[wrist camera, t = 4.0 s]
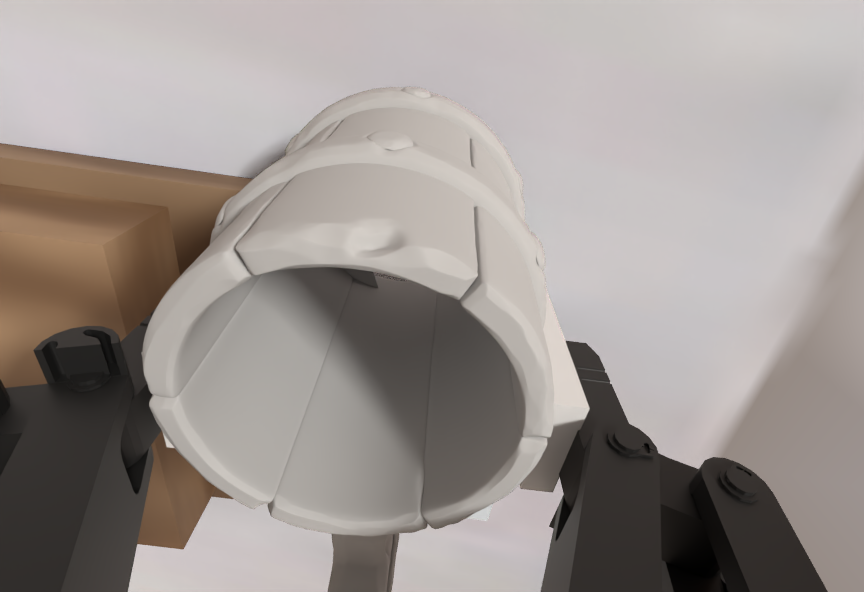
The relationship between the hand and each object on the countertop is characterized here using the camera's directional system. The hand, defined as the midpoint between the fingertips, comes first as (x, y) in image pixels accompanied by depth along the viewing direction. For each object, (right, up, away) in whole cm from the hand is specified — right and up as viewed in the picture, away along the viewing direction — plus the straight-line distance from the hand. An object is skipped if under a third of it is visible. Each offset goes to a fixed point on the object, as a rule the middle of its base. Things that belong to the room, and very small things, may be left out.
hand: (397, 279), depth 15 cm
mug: (0, +1, +2) cm, 2 cm away
